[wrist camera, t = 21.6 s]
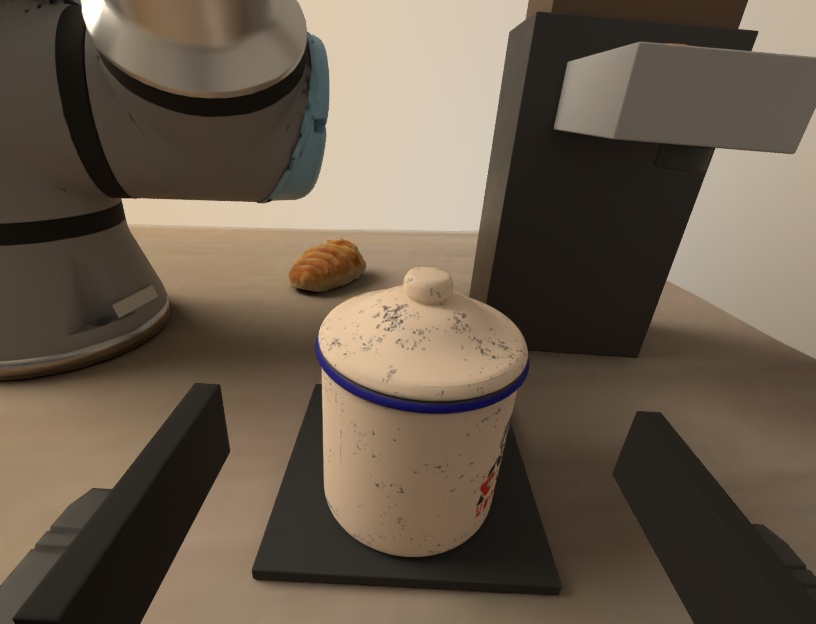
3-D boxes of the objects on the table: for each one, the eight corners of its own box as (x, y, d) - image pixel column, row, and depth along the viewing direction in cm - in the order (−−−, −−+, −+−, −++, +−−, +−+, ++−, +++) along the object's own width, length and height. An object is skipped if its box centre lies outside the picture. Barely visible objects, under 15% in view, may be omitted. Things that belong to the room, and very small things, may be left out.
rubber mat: (559, 595, 18) (562, 587, 18) (252, 579, 18) (251, 570, 17) (501, 402, 30) (502, 395, 29) (315, 390, 29) (315, 383, 29)
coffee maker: (706, 434, 28) (1033, -213, 15) (499, 421, 28) (646, -254, 15) (600, 316, 44) (714, -50, 31) (467, 307, 43) (524, -68, 30)
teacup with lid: (519, 564, 18) (590, 331, 13) (307, 571, 17) (295, 323, 12) (465, 394, 29) (492, 229, 24) (332, 393, 28) (330, 220, 23)
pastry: (328, 302, 42) (327, 266, 40) (272, 288, 44) (269, 253, 42) (369, 273, 50) (370, 242, 48) (320, 263, 52) (319, 232, 50)
